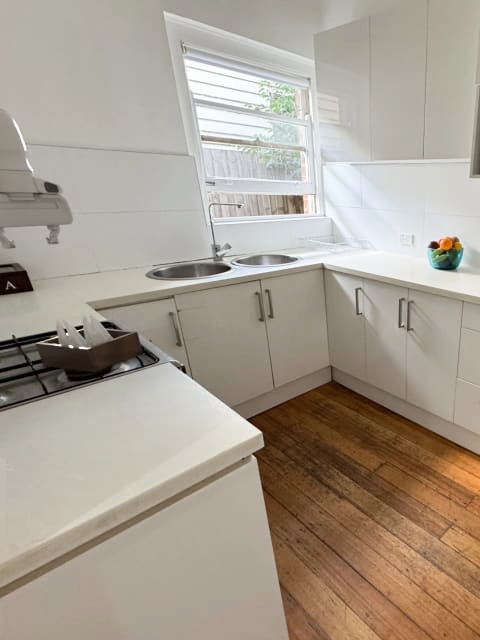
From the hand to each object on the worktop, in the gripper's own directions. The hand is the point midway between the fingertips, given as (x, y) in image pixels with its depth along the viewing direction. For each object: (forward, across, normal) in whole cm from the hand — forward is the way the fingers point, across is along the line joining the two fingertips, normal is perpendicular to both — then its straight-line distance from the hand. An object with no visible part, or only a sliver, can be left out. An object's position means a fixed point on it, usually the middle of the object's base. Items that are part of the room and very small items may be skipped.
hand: (32, 246), depth 93 cm
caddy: (+27, -4, -15) cm, 31 cm away
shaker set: (+26, -4, -14) cm, 30 cm away
